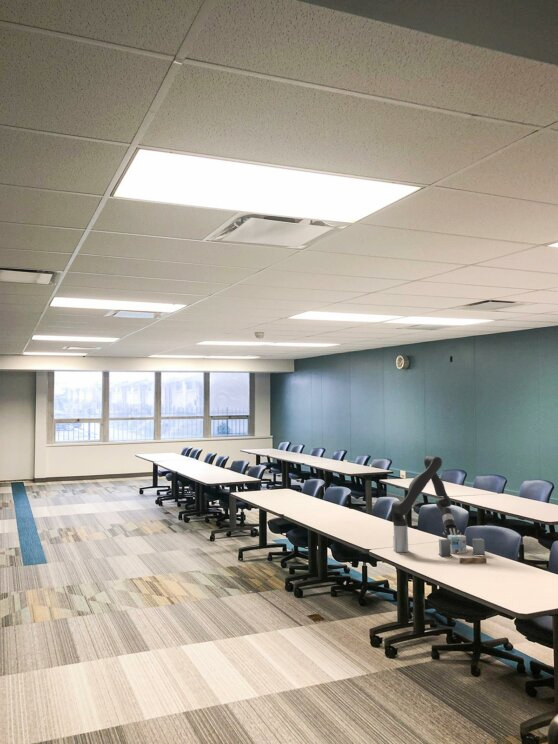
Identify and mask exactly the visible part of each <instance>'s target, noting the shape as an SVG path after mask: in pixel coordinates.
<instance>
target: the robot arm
mask: <svg viewBox="0 0 558 744" xmlns="http://www.w3.org/2000/svg"><path fill="white" fill-rule="evenodd" d="M423 464H424V467H425V470H424V471H423V472H421V473H419V474H418V475H416V476H415V477H413V479H412V481H410V483H409V485H408V491H407V494H406V496H405V498H404V499H403V500H402V501H401V500H394V501H393V502H392V504H391V519H392V523H393V524H392V525H393V536H392V538H393V539H392V540H393V551H394V552H395V553H408V552H409V535H408V534H409V531H408V520H406V519H405V517H404V516H407V515H408V513H409V512H410V510H411V509H412V507H413V505H414V503H415V501H416V500H417V499H418V497H419V496H420V494H421V493H422V492H423V491H424V489H425V487H426V486H427V485H428V484H429V482H430V480H431V482H432V485H433V487H434V492H435V495H436V496H437V497H439V498H437V499H436V500H435V505H436V507H437V508H438V510H439V512H440V514H441V517H442V524H443V525H444V530H443V531H442V535H444V537H446V539H448V535H462V530H458V527H457V526H456V525H457V524H456V521H455V518H454V515H453V512H452V509H451V508H450V507H451V506H452V500H451V499H450V497H449V495H448V494H447V492H446V488H445V484H444V482H443V481H442V479H441V477H440V476H439V475H438V473H437V472H438V471H439V470H440V469H441V467H442V465H443V461H442V458H441V457H439V456H434V455H427V456H425V457H424V460H423Z"/></svg>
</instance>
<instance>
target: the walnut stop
mask: <svg viewBox="0 0 558 744" xmlns="http://www.w3.org/2000/svg"><path fill="white" fill-rule="evenodd" d="M458 558H459V561H458V562H459V564H461V565H462V564H463V565H466V564H467V565H468V564H471V565H472V564H487V562H488V561H487V557H486V556H474V557H458Z"/></svg>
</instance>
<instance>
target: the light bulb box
mask: <svg viewBox="0 0 558 744" xmlns="http://www.w3.org/2000/svg"><path fill="white" fill-rule="evenodd" d="M447 539H449V540H450V547H451V554H458V553H457V552H467V536H466V535H463V534H460V535H457V534H456V535H448V538H447Z"/></svg>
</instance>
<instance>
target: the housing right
mask: <svg viewBox="0 0 558 744" xmlns="http://www.w3.org/2000/svg"><path fill="white" fill-rule="evenodd" d="M485 551H486V549H485V539H483V538H480V537H479V538H472V553H473V554H474V555H486V552H485ZM473 554H472V555H473ZM474 555H473V556H474Z"/></svg>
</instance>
